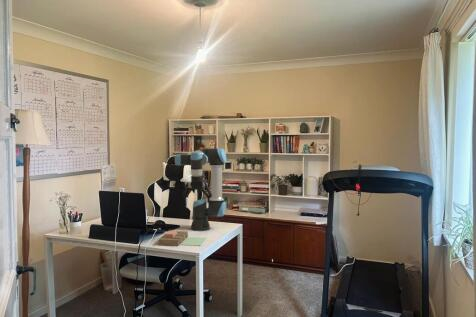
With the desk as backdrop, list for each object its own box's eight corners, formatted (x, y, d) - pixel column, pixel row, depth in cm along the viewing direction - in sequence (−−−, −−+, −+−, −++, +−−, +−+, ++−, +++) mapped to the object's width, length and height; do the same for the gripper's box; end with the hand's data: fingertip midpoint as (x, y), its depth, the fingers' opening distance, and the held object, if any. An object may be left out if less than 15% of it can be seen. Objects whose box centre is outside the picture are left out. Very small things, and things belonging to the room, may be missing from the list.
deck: (169, 236, 258) (169, 230, 258) (187, 236, 256) (187, 231, 256) (158, 245, 237) (158, 239, 237) (178, 245, 235) (178, 240, 234)
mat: (188, 237, 254) (188, 237, 254) (207, 238, 252) (207, 237, 252) (180, 245, 237) (180, 244, 236) (200, 245, 234) (200, 245, 234)
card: (169, 233, 252) (169, 230, 251) (177, 233, 251) (177, 230, 251) (164, 236, 243) (164, 233, 243) (173, 237, 242) (172, 234, 242)
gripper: (176, 176, 227) (177, 208, 228) (214, 176, 223) (214, 209, 225) (180, 174, 234) (180, 205, 235) (216, 175, 231) (216, 206, 232)
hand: (197, 207), depth 230 cm, fingers open, 13 cm apart
